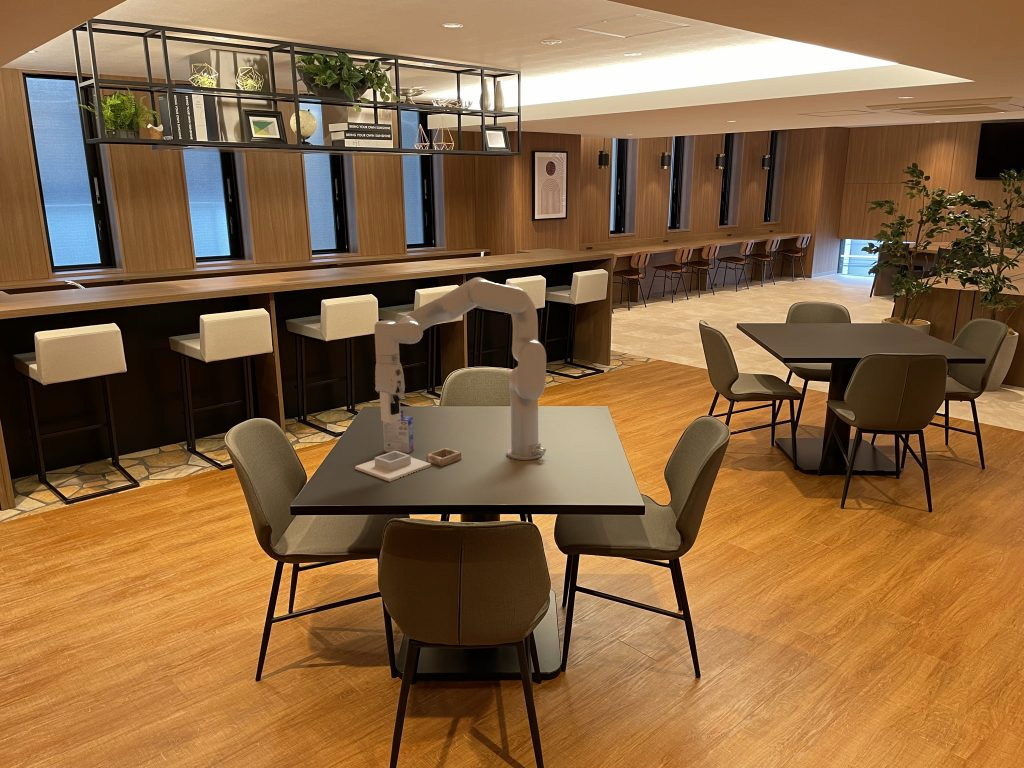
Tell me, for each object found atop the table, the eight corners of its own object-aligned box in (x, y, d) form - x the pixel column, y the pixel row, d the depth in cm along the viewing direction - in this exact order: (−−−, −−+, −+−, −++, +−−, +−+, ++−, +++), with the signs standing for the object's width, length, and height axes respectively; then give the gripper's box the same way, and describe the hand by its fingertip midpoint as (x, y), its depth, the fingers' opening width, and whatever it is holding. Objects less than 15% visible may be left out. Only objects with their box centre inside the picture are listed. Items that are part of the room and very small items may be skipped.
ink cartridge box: (415, 448, 280) (413, 410, 277) (410, 453, 275) (408, 414, 271) (389, 447, 282) (387, 409, 278) (383, 452, 277) (381, 413, 273)
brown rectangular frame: (461, 459, 268) (461, 452, 268) (442, 466, 262) (442, 459, 261) (445, 454, 274) (445, 447, 273) (426, 461, 267) (426, 454, 266)
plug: (400, 419, 258) (399, 387, 255) (389, 422, 254) (387, 390, 251) (393, 417, 260) (391, 385, 258) (381, 420, 257) (379, 388, 254)
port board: (431, 466, 262) (430, 455, 261) (389, 481, 249) (388, 470, 248) (396, 454, 274) (395, 444, 273) (355, 469, 261) (354, 457, 260)
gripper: (413, 360, 249) (416, 414, 254) (380, 353, 260) (383, 405, 265) (395, 364, 244) (398, 420, 249) (362, 357, 255) (365, 410, 259)
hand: (390, 412), depth 257 cm, fingers closed on plug, 4 cm apart
